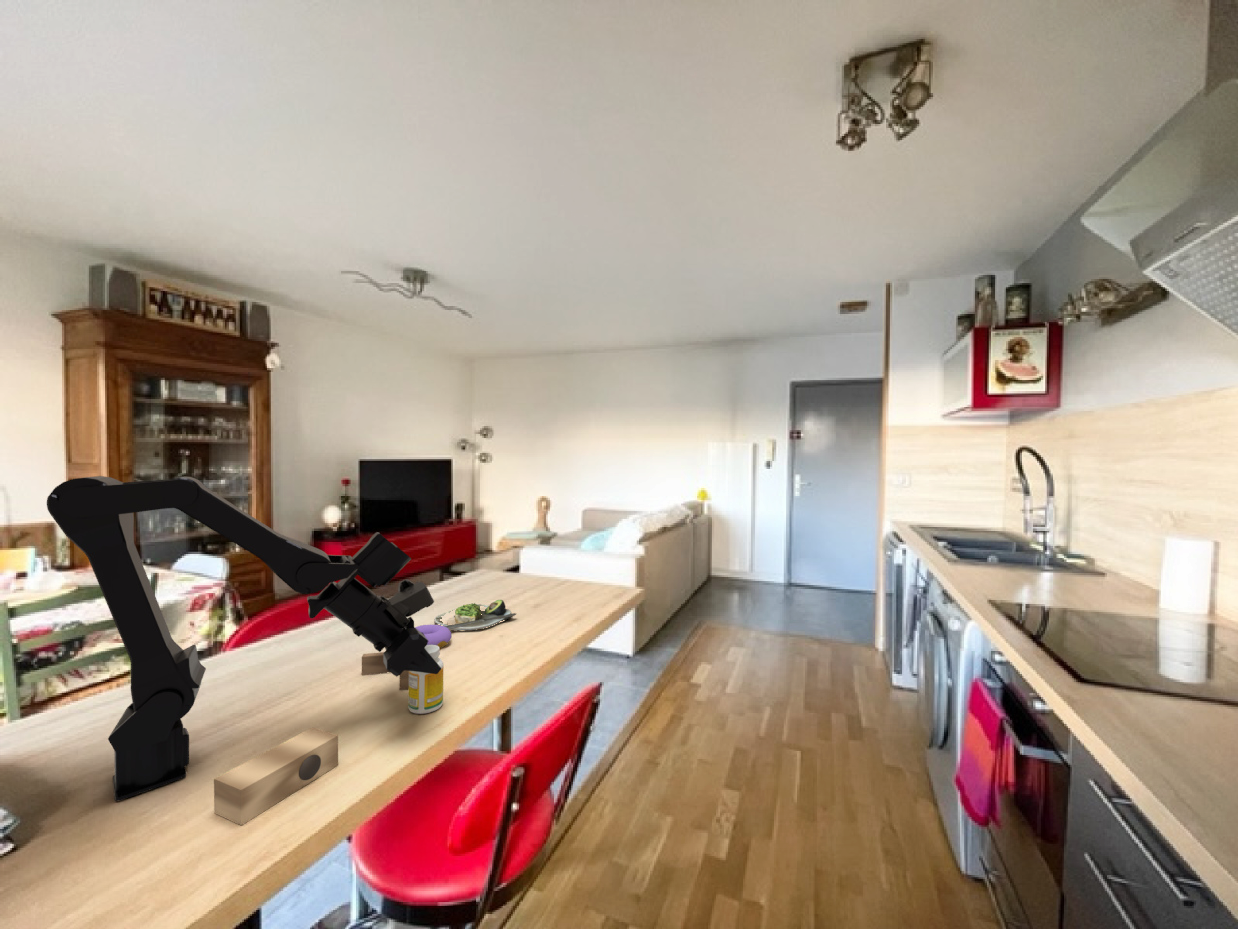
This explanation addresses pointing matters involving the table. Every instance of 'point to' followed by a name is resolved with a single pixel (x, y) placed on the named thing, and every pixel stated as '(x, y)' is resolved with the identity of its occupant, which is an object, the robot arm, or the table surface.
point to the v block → (381, 668)
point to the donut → (435, 634)
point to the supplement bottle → (426, 687)
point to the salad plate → (477, 616)
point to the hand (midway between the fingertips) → (434, 665)
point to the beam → (274, 775)
